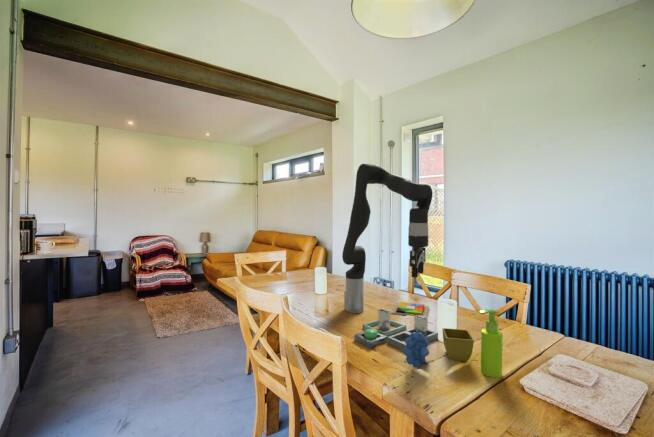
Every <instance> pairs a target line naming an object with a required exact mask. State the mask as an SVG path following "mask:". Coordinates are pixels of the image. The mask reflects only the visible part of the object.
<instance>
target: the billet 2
mask: <svg viewBox="0 0 654 437" xmlns="http://www.w3.org/2000/svg"><path fill="white" fill-rule="evenodd" d="M413 318H414V327H413V328H414V332H416V333H419V332H421V333H423V334H424V337H425V336H427V335H428V328H429V324H428V322H429V321H428V317H426V316H421V315H417V316H414V317H413Z"/></svg>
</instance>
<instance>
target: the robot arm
mask: <svg viewBox="0 0 654 437" xmlns="http://www.w3.org/2000/svg"><path fill="white" fill-rule="evenodd" d="M355 176H356V177H355V187H354V188H355V189H354V198H353V202H352V209H351V214H350V218H349V225H348V230H347V235H346V238H345V243H344V245H343V248H342V255H341V256H342V261H343V264H345V265H349V266H350V265H353V266H352V267H351V268H350V269H348V270H346V272H345V291H344V292H343V293H344V295H343V298H344V299H343V300H344V301H343V302H344V305H343V306H344V308H343V309H344V310H345V311H346V312H347V313H350V314H360V313H363V312H364V302H365V301H364V297H365V296H364V289H365V288H364V287H365V286H364V285H365V283H364V282H365V280H364V279H365V278H364V277H365V272H366V249H365V248H364V247H363V246H361V245H357V242H358V240H359V238H360V236H362V234H363V233H364V231H365V230H366V229H367V227H368V225H369V222H370V216H371V213H372V212H371V211H372V210H371V207H370V204H369V201H368V198H367V189H368V184H369V185H375V184H378V185H383V186H386V188H387V189H388V190H390V191H392V192H394V193H396V194H398V195H401V196H402V197H403V198H404V199H406V200H407V201H408V200H409V201H411V202H416V205H415V206H414V207H412V208H410V209H409V220H408V222H409V224H408V234H407V236H408V239H407V240H408V241H407V243H408V247H412V250H410V251H409V265H408V266H409V267H410V268H411V277H412V278H418V276H419V274H423V273H424V265H425V263H426V250H427V249H426V248H427V247H428V246H429V210H430V208H431V204H432V200H433V195H434V194H433V189H432V187H431V185H429V183H428V184H427V183H419V182H418V183H417V182H412V180H410V179H408V178H406V177H403V176H400V175H397V174H394V173H391V172H389V171H387V170H386V169H384V168H382V167H381V166H380V165H377V164H371V163H361V164H360V165H359V166H358V168H357V170H356V175H355Z"/></svg>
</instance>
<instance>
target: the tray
mask: <svg viewBox="0 0 654 437" xmlns="http://www.w3.org/2000/svg"><path fill="white" fill-rule="evenodd" d="M374 326H378V319H375V320H373V321H369V322H366V323H363V324H362V330H366V329H375V330H377V332H378V333H380V334H383V335H385V336H387V337H389V336H392V335H395V334H398V333H401V332H403V331H406V330H407V325H406V324H403V323H401V322H398V321H395V320H393V319H390V326H394V327H395V328H390V330H388V331H381V330H379V329H376V328H375V327H374Z"/></svg>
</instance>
